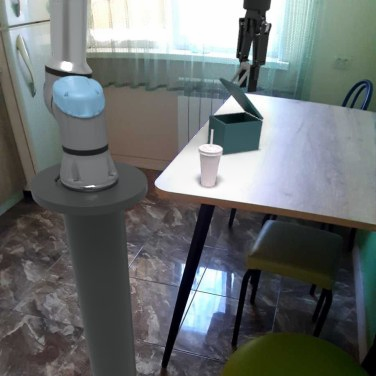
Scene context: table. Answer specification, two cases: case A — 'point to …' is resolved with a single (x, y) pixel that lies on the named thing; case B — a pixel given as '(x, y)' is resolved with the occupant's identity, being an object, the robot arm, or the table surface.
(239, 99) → the lid
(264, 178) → the table surface
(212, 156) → the smoothie
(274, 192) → the table surface
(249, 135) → the teal open box
